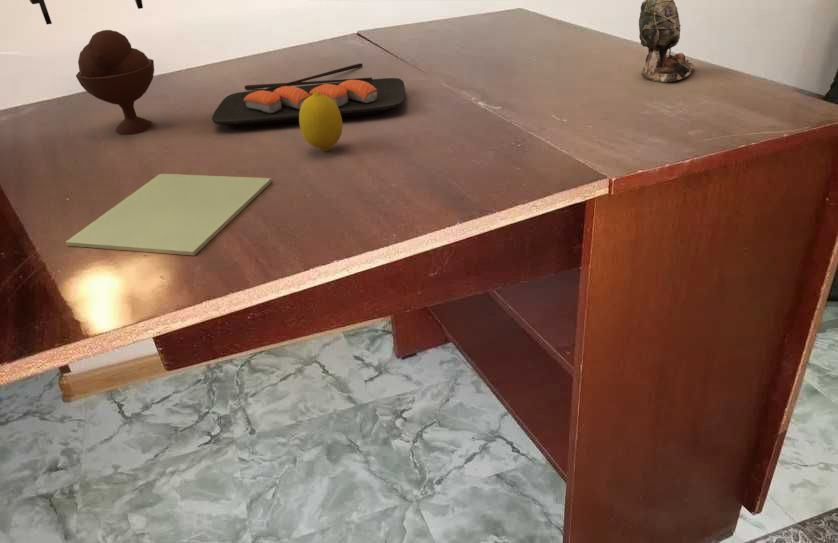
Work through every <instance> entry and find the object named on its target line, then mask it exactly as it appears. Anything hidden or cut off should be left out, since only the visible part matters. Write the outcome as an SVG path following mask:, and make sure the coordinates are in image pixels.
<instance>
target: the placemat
mask: <svg viewBox="0 0 838 543" xmlns="http://www.w3.org/2000/svg"><path fill="white" fill-rule="evenodd" d="M272 182H273V179H272V178H271V177H253V176H252V177H251V176H250V177H249V176H227V175H206V174H205V175H201V174H177V173H159V174H158V175H156V176H155V177H153V178H152V179H150V180H149V181H148V182H147V183H145V184H144V185H143V186H141V187H139V188H138V189H137V190H135V191H134V192H132V193H131V194H130V195H128V196H127V197H125V198H124V199H123V200H121V201H120V202H119V203H117V204H116V205H114V206H113V207H112V208H110V209H109V210H108V211H106V212H104V213H103V214H102V215H101V216H99V217H98V218H96V219H95V220H93V221H92V222H91V223H89V224H88V225H87V226H85V227H84V228H83V229H82V230H80V231H78V232H77V233H76V234H74V235H73V236H71V237H70V238H69V239H67V240H66V241H65V245H66V246H67V247H78V248H91V249H103V250H104V249H105V250H115V251H117V250H118V251H129V252H141V253H144V252H145V253H153V254H154V253H155V254H167V255H179V256H180V255H182V256H193V257H194V256H196V255H197V254H198V253H199V252H200V251H201V250H202V249H203V248H204V247H206V245H207V244H209V243H210V242H211V240H212V239H214V238H215V237H216V236H217V235H218V234H219V233H220V232H221V231H222V230H223V229H224V228H225V227H226V226H228V224H230V222H231V221H233V220H234V219H235V218H236V217H237V216H238V215H239V214H240V213H241V212H242V211H243V210H244V209H245V208H247V206H248V205H249V204H251V202H253V200H255V198H257V197H258V196H259V195H260V194H261V193H262V192H263V191H264V190H265V189H266V188H267V187H268V186H269V185H270V184H271V183H272Z"/></svg>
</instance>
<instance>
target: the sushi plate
mask: <svg viewBox="0 0 838 543" xmlns="http://www.w3.org/2000/svg"><path fill="white" fill-rule="evenodd" d="M362 67H363V63H359V62H358V63H356V64H351V65H348V66H344V67H340V68H337V69H333V70H330V71H325V72H323V73H319V74H315V75H312V76H308V77H304V78H300V79H297V80H293V81H290V82H276V83H261V84H260V83H259V84H258V83H257V84H246V85H244V87H243V88H244V90H248V91H240V92H237V93H236V92H235V93H231V94H229V95H227V96H225V97H224V98H223V99H222V100H221V102H220V103H219V104H218V106H217V107H216V109H215V110H214V112H213V114H212V117H211V121H212V123H213V124H215V125H238V126H243V127H244V126H260V125H271V124H279V123H280V124H281V123H283V124H284V123H292V122H299V112H300V108H301V105H302V103H303V102H304V101H305V100H306V99H307V98H308V97H310V96H311V95H312V94H313V93H314V92H319V93H320V94H323V95H326V96H328V97H330V98H331V99H332V100H333V101H334V102H335V103H336V104H337V106H338V108H339V111H340V114H341V118H343V117H344V118H345V117H346V118H347V117H355V116H356V117H357V116H364V115H365V116H366V115H374V114H378V113H382V112H384V111H385V110H390V109H395V108H398V107H401V106H402V105H403V104H404V103H405V100H406V86H405V82H404V81H403V80H402V79H401V78H398V77H386V78H385V77H382V78H373V77H357V78H343V79H342V78H341V79H328V80H325V79H324V80H315V79H318V78H322V77H328V76H331V75H335V74H340V73H343V72H347V71H348V72H349V71H351V70H355V69H359V68H362ZM310 80H311V81H310Z"/></svg>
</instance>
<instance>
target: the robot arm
mask: <svg viewBox="0 0 838 543" xmlns="http://www.w3.org/2000/svg"><path fill="white" fill-rule="evenodd" d="M29 2H30V4H32V5H38V4H39V7H40V10H41V13H42V15H43V19H44V21H45V24H46V25H53V22H52V19H51V16H50V14H49V10H48V8H47V4H46V3H45V0H29ZM134 2H135V4H136V8H137V9H138V10H140V9H143V7H144V6H143V5H144V4H143V0H134Z"/></svg>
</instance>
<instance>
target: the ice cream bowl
mask: <svg viewBox="0 0 838 543" xmlns="http://www.w3.org/2000/svg"><path fill="white" fill-rule="evenodd" d="M77 64H78V72H77V74H76V75H75V77H76V80H77V81H78V83H79V84H80V86H81V87H82V88H83V89H84V90H85V91H86V93H88V94H90V95H91V96H93V97H95V98H96V99H98V100H100V101H103V102H105V103H109V104H112V105H117V106H119V107H120V108H121V110H122V113H123V117H124V119H123V120H122V121H121V122H119V123H118V125H117V126H116V128H115V133H116V134H118V135H120V136H126V135H127V136H128V135H129V136H130V135H135V134H139V133H144V132H146V131H148V130H149V129H151V128H152V127H153V122H152V121H151V120H149V119H147V118H143V117H141V116H138V115H137V112H136V109H135V107H134V106H135V102H136V101H137V100H139V99H140V98H142V97H143V95H144V94H146V93H147V91H148V89H149V87H150V86H151V83H152V81H153V79H154V75H155V74H154V72H155V62H154V59H152V58H149V57H148V56H147V55H146V54H145V52H143V51H141V50H139V49H138V48H134V47H132V44H131V43H130V40H129V38H127V37H126V35H125V34H123V33H120V32H119V31H117V30H112V29H103V30H100V31H97V32H95V33H94V34H93V35H92V36H91V38H90V39H89V42H88V43H87V44H86V45H84V46H83V48H82V50H81V51H80V52H79V56H78V60H77Z"/></svg>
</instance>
